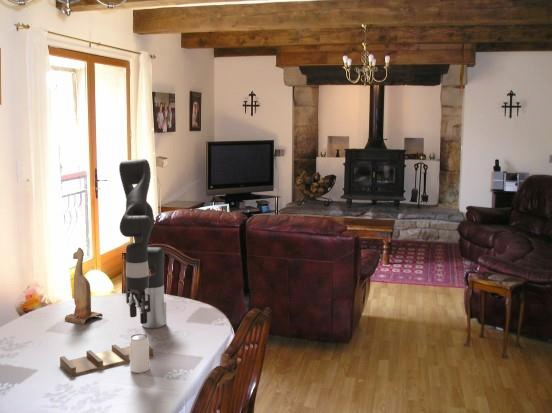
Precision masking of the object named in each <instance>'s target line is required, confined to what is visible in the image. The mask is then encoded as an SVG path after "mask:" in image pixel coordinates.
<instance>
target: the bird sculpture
mask: <svg viewBox="0 0 552 413" xmlns="http://www.w3.org/2000/svg"><path fill="white" fill-rule="evenodd" d="M84 255H85V254H84V250H83V249H82V248H81V247H78V248H77V250H76V251H75V252H74V253H73V255H72V259H73V260H77V262H76V263H75V269H74V275H73V300H74V305H75V308H74V311H73V313H70V314H67V315H65V317H64V321H65V322H69V323H74V324H77V325H84V326H85V323H86V321H87V320H88V319H90V318H93V317H101V318H103V313H101V312H96V311H92V291H91V284H90V282H89V280H88V279H87V278H86V276H85V275H84V274H83V273H84V272H83V264H84Z"/></svg>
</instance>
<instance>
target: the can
mask: <svg viewBox="0 0 552 413" xmlns="http://www.w3.org/2000/svg"><path fill="white" fill-rule="evenodd" d="M129 346H130V362H129V364H130V365H129V367H130V368H129V369H130V371H131V373H133V374H143V373H146V372H148V371H149V370H150V357H149V346H150V340H149V338H148V335H147V334H145V333H135V334H132V335H131V336H130V340H129Z"/></svg>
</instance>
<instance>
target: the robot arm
mask: <svg viewBox="0 0 552 413" xmlns="http://www.w3.org/2000/svg"><path fill="white" fill-rule="evenodd" d="M118 167H119V169H118V170H119V172H118V173H119V177H120V180H121V184H122V188H123V191H124V194H125V195H124V196H125V199H126V202H125V212H124V214H123V216H122V218H121V220H120V221H119V222H120V224H119V231H120V234H121V235H122V236H123V237H126V238H133V240H134V242H131V243H129V244H127V245H126V246H125V253H126V254H125V257H126V258H125V259H126V260H125V261H126V264H125V285H126V286H125V287H126V288H125V290H126V291H125V294H126V296H125V297H126V298H125V299H126V302H125V303H126V304H128V306H129V317H130V318H136V317H137V315H138V314H137V308H138V309H139V314H140V315H139V320H140V322H139V323H140V324H141V325H142V327H143V328H146V329H157V328H161V327H163V326H165V325H167V324H168V323H167V322H168V321H167V302H165V284H164V283H165V280H164V279H165V250H164V249H163V248H162V247H159V246H158V247H157V246H156V247H155V246H154V247H153V246H152V247H151V246H148V245H149V240H150V237H151V233H152V230H153V228H154V227H155V226H154V225H155V217H154V210H153V207H152V206H151V204H150V203H149V202H148V201H147V199H148V193H149V190H150V188H149V187H150V184H151V183H150V182H151V179H152V178H151V174H152V173H151V172H152V171H151V167H150V163H149V161H148V160H147V159H146V158H137V159H127V160H123V161H121V162H120V163H119V166H118ZM134 185H135V186H134ZM149 270H150V271H151V270H154V272H153V273H152V274H149Z"/></svg>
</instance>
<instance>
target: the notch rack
mask: <svg viewBox="0 0 552 413" xmlns="http://www.w3.org/2000/svg"><path fill="white" fill-rule="evenodd" d="M85 351H86V356H81V357H77V358H72V359H68V358H67V357H66V356H65V355H63V356H60V357H59V364H60V367H62V369H64V370H65V371H66V373H67V374H68V375H69V376H70V377H76V376H80V375H84V374H88V373H93V372H97V371H100V370H101V371H102V370H105V369H108V368H113V367H116V366H117V367H118V366H121V365H125V364H130V345H128V346H125V347H124V346H123V347H120V346H119V345H117V344H111V349H110V350H107V351H101V352H97V353H95V352H93V351H92V350H91V349H90V350H85ZM153 357H154V348H153V347H152V346H150V345H149V358H153Z"/></svg>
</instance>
